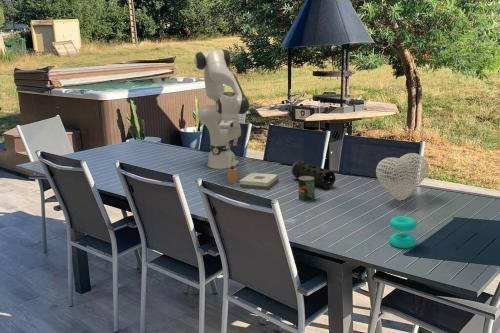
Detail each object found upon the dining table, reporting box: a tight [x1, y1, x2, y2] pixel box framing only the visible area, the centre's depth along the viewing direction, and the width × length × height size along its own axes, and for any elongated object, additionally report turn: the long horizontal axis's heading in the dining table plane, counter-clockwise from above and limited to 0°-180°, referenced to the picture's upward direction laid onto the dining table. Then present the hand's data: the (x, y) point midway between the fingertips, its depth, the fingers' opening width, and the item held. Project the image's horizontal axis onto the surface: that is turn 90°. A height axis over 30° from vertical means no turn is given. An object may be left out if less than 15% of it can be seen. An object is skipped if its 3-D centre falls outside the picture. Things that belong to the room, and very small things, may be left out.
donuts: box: [388, 215, 418, 249], centre depth 199 cm, size 10×10×10 cm
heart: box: [375, 152, 430, 202], centre depth 250 cm, size 28×16×22 cm, turn 122°
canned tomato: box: [297, 176, 316, 203], centre depth 258 cm, size 8×8×11 cm
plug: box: [227, 166, 239, 184], centre depth 292 cm, size 4×4×10 cm
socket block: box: [239, 172, 279, 191], centre depth 287 cm, size 17×16×4 cm
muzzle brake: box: [290, 161, 336, 190], centre depth 285 cm, size 10×28×10 cm, turn 32°
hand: (231, 147), depth 288 cm, fingers open, 8 cm apart
